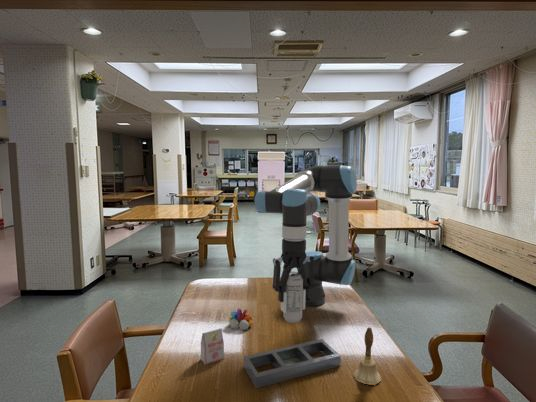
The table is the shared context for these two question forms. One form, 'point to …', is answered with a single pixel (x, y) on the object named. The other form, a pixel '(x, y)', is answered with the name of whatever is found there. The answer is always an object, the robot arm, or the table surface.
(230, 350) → the table surface
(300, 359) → the rack
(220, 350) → the white printed box
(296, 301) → the energy drink can
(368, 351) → the hand bell
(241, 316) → the rainbow disc toy
